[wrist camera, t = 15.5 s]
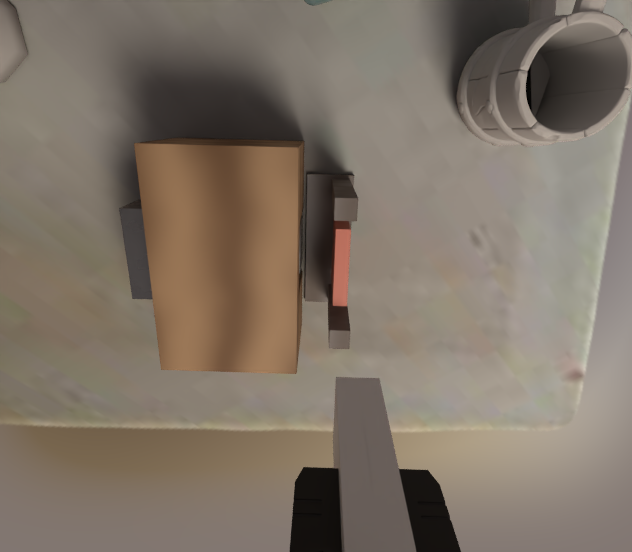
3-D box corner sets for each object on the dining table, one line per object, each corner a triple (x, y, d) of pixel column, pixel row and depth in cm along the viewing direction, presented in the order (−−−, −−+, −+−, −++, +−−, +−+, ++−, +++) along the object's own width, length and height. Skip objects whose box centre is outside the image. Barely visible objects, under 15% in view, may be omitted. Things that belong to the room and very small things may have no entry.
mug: (442, 139, 33) (503, 150, 22) (477, -42, 29) (575, -145, 18) (539, 149, 33) (650, 165, 22) (587, -30, 29) (755, -124, 18)
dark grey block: (161, 271, 37) (132, 298, 32) (152, 193, 35) (119, 208, 29) (302, 274, 37) (298, 302, 32) (302, 197, 35) (298, 212, 29)
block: (192, 321, 39) (156, 377, 30) (176, 137, 33) (126, 144, 25) (345, 325, 39) (351, 383, 30) (355, 142, 33) (366, 150, 25)
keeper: (331, 276, 36) (332, 305, 30) (333, 210, 34) (335, 229, 28) (343, 276, 36) (346, 306, 30) (346, 211, 34) (350, 229, 28)
